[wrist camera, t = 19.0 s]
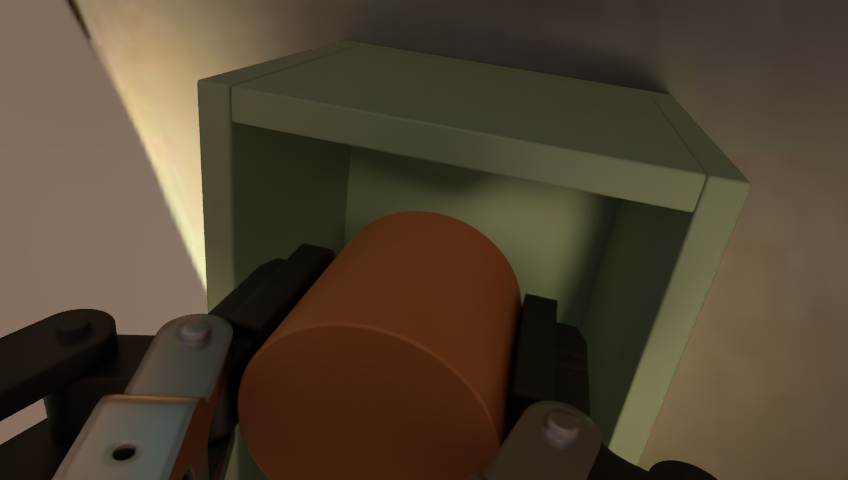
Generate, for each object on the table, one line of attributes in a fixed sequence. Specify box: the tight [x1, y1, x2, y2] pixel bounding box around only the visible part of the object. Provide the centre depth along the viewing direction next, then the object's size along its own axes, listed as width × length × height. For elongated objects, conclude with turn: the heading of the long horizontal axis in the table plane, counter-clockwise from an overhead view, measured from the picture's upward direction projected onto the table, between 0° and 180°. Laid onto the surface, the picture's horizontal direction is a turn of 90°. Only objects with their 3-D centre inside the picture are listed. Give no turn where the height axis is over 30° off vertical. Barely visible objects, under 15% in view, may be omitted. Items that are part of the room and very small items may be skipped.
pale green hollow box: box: [197, 40, 751, 480], centre depth 21 cm, size 17×13×10 cm
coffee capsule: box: [237, 211, 522, 480], centre depth 12 cm, size 5×5×5 cm
